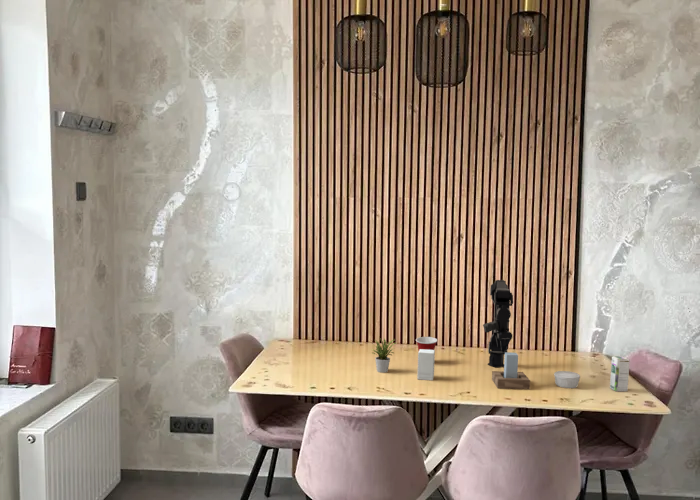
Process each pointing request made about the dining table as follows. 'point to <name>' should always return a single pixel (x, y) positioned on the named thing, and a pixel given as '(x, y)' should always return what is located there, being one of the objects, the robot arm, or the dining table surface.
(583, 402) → the dining table surface
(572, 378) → the ramekin
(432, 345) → the plastic cup
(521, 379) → the walnut socket block
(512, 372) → the slate blue peg
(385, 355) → the house plant
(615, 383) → the syrup box
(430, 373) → the supplement box
